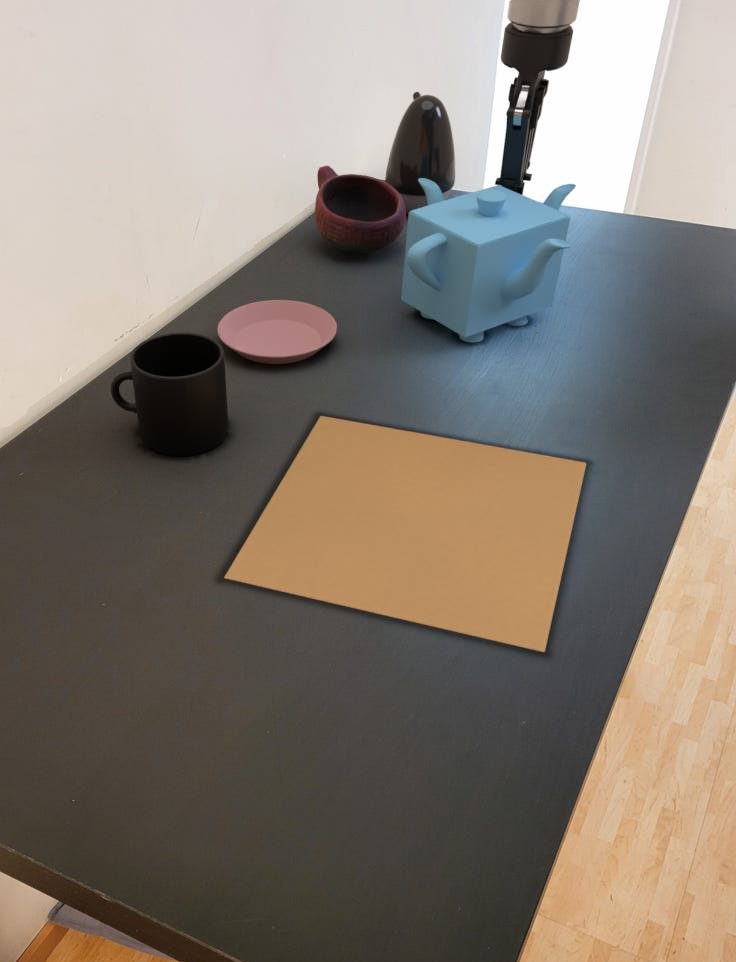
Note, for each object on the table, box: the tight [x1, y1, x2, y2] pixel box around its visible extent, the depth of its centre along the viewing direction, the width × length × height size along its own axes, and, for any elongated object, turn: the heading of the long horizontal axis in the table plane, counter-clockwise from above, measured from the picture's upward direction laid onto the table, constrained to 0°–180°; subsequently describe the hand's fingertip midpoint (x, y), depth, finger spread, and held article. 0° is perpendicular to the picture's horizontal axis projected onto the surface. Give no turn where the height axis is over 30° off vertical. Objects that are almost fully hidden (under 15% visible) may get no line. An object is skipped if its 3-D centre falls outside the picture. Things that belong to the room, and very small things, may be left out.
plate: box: [217, 299, 338, 365], centre depth 112 cm, size 14×14×2 cm
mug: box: [110, 331, 229, 457], centre depth 97 cm, size 9×12×9 cm
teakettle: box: [400, 178, 577, 343], centre depth 111 cm, size 19×19×15 cm
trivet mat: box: [223, 415, 587, 654], centre depth 88 cm, size 28×28×1 cm
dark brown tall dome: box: [384, 91, 456, 214], centre depth 136 cm, size 10×10×15 cm
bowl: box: [314, 165, 407, 254], centre depth 130 cm, size 16×13×8 cm
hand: (504, 235), depth 122 cm, fingers closed
